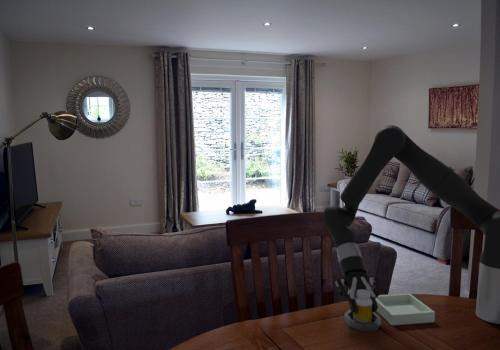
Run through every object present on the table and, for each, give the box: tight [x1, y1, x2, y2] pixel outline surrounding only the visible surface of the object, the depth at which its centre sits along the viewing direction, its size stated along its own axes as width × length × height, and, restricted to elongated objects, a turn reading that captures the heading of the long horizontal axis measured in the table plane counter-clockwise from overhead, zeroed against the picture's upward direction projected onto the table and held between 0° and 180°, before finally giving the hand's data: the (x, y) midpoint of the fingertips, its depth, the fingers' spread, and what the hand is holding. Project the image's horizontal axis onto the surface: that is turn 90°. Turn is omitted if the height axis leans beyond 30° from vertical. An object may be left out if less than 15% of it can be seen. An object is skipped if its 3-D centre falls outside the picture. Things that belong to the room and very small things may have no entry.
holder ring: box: [343, 308, 382, 332], centre depth 121 cm, size 10×10×2 cm
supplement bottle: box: [352, 289, 373, 323], centre depth 120 cm, size 5×5×10 cm
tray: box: [375, 292, 436, 326], centre depth 127 cm, size 14×14×3 cm
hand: (365, 311), depth 119 cm, fingers closed on supplement bottle, 5 cm apart
